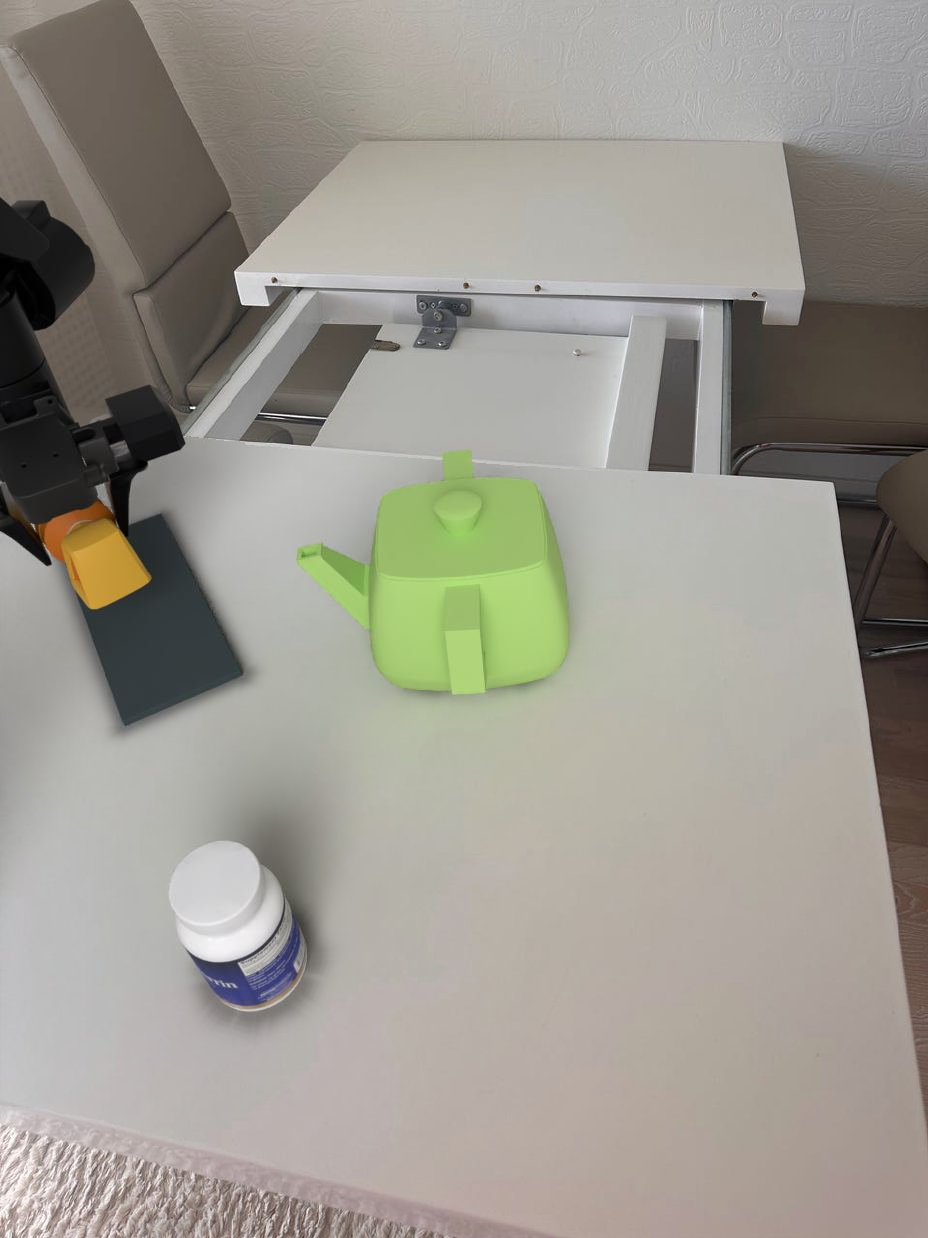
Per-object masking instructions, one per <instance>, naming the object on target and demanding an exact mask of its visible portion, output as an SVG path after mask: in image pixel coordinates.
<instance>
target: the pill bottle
mask: <svg viewBox="0 0 928 1238" xmlns="http://www.w3.org/2000/svg"><path fill="white" fill-rule="evenodd" d="M167 891H168V892H167V893H168V901H169V904H170V906H171V907H170V908H171V909H172V911H173V913H174V925H175V930H176V934H177V936H178V939H179V941H180V943H181V945H182V946H183V947H184V949H185V951H186V952H187V954H188V955H189V956H190V958H191V960H192V961H193V962H194V964H195V966H196V968H197V969H198V971H199V972H200V973H201V975H202V976H203V978H204V980H205V981H206V982H207V984H208V986H209V987H210V989H211V990H212V992H213V993H214V994H215V996H216V997H217V999H219V1000H220V1001H221V1002H222V1003H223V1004H225V1006H228V1007H230V1008H232V1009H235V1010H238V1011H242V1012H259V1011H262V1010H266V1009H269V1008H271V1007H274V1006H275V1005H278V1004H279V1003H280V1002H282V1001H283V1000H285V999H286V998H287V997H288V996H289V995H290V994H291V993H292V992H293V991H294V990H295V989H296V988H297V986H298V984H299V983H300V981H301V980H302V977H303V976H304V973H305V971H306V968H307V961H308V948H307V942H306V940H305V936H304V933H303V932H302V929H301V927H300V925H299V923H298V921H297V919H296V916H295V915H294V912H293V909H292V908H291V906H290V903H289V901H288V899H287V897H286V895H285V892H284V890H283V887H282V885H281V883H280V881H279V880H278V878H277V877H276V875H275V874H274V873H273V872H272V871H271V870H270V869H269V868H268V867H266V866H265V865H263V864H261V863H260V861H259V859H258V857H257V856H256V854H255V853H254V852H253V851H252V850H251V849H250V848H249V847H248V846H247V845H244V844H242V843H241V842H238V841H234V840H226V839H220V840H213V841H210V842H206V843H204V844H202V845H199V846H198V847H196V848H194V849H192V850H191V851H190V852H189V853H187V854H186V855H185V856H184V857H183V858H182V859H181V860H180V861H179V862H178V864H177V865H176V866H175V868H174V870H173V872H172V874H171V875H170V879H169V884H168V888H167Z"/></svg>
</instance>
